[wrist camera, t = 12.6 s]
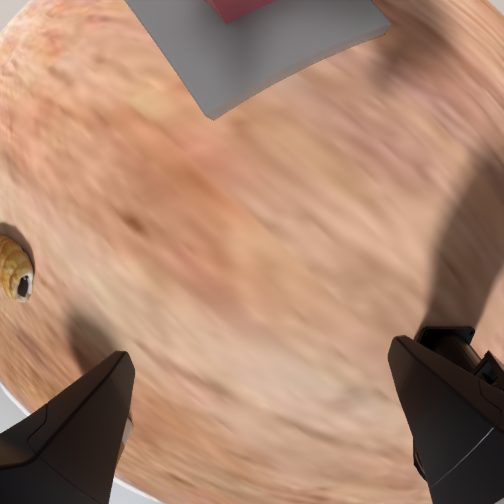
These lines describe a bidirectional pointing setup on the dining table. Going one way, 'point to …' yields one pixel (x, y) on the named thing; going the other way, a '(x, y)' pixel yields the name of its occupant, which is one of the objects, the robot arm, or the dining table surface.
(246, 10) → the red rectangular block
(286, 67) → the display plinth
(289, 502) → the dining table surface
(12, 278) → the pastry
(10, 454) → the robot arm
